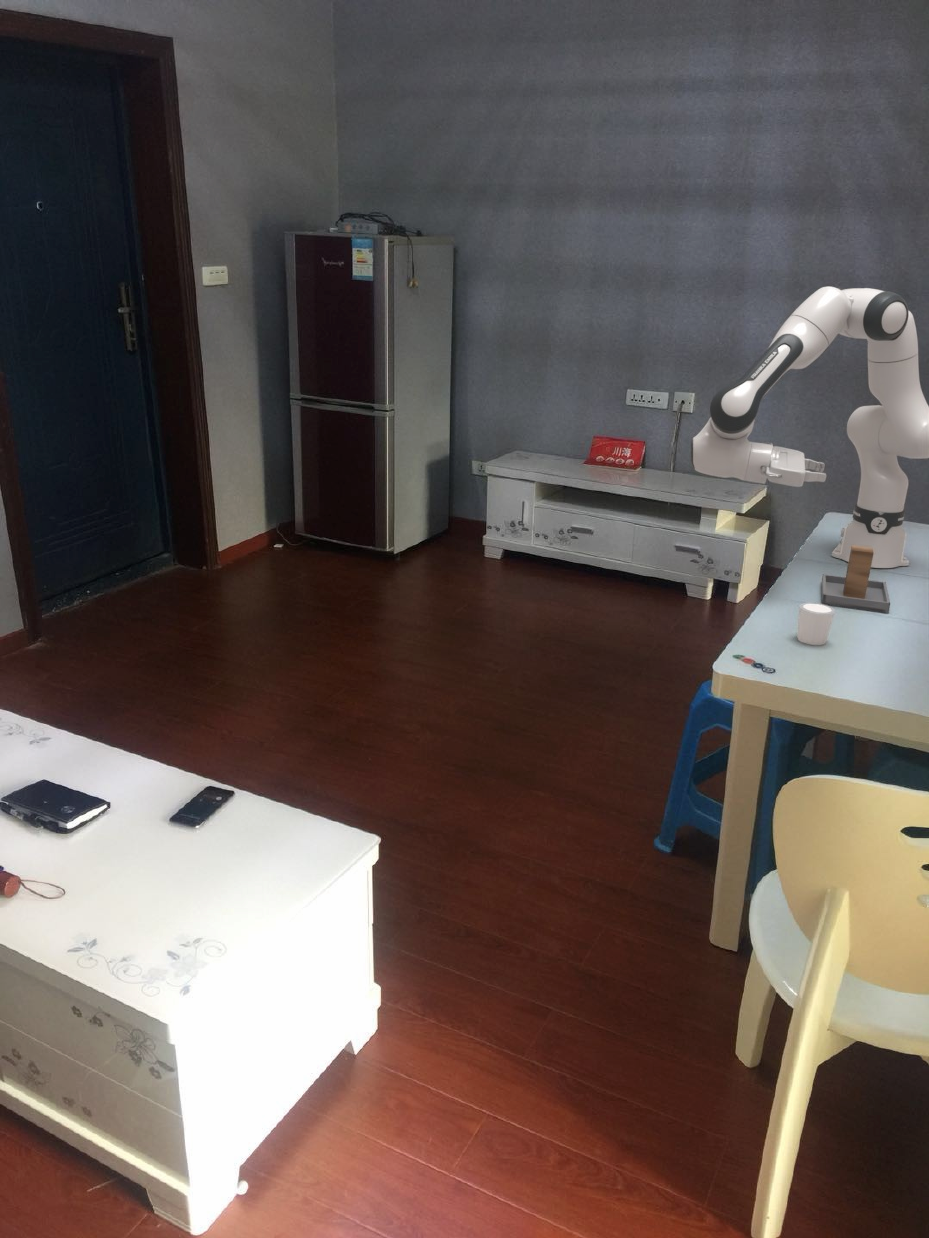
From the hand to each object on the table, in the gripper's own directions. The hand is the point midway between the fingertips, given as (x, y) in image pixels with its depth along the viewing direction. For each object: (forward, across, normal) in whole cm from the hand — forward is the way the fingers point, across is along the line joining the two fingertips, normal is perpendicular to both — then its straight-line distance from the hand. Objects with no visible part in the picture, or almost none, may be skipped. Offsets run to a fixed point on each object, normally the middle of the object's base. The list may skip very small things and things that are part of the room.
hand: (825, 472), depth 215 cm
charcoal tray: (+12, -2, +27) cm, 30 cm away
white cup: (+2, -33, +27) cm, 43 cm away
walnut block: (+12, -2, +27) cm, 29 cm away
